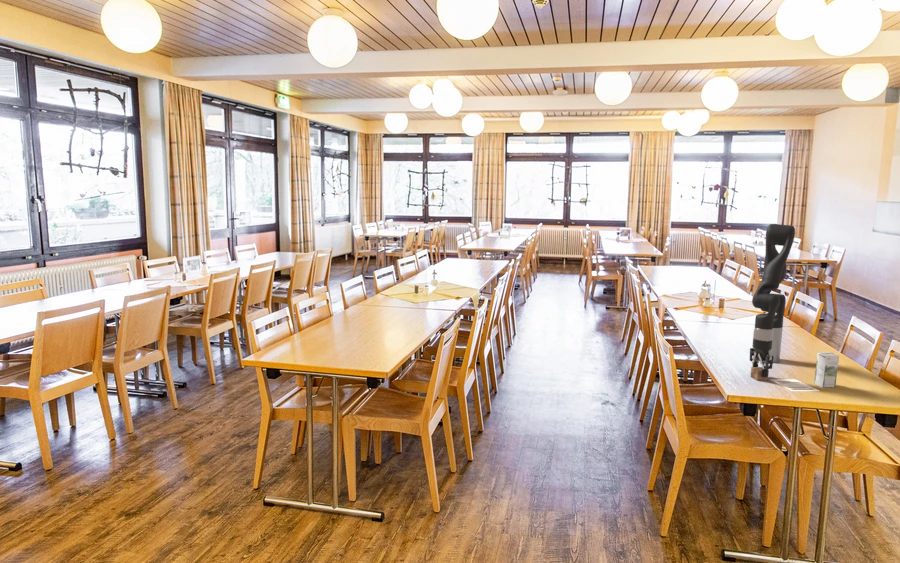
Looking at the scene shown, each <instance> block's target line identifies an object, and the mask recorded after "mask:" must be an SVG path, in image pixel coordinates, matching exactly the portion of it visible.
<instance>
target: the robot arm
mask: <svg viewBox="0 0 900 563" xmlns="http://www.w3.org/2000/svg"><path fill="white" fill-rule="evenodd" d="M765 231H766V232H765V255H764V264H763V271H762V272H763V273H762V277H761V282H760V284H759V286H758V287H757V290H756V291H755V293H753V294H754V295H753V296H752V299H751V300H752V301H751V303H752V305H753V307H754V308H756V309H760V311H762V312H765V313H758V314H756V315H755V319H754V320H755V321H754V329H753V334H752V335H753V336H752V338H753V339H752V347H750V348H749V362H751V364H752V366H751V367H759V363H760V365H761V367H762V368H763V369H762V377H767V376H768V377H769V375H768V370H771V369H773V365H774V364H773V363H779V362H780V359H781V351H782V350H781V349H782V339H783V338H782V337H783V327H784V315H785V309H786V296H785V295H784V294H782V293H771V292H772V291H774V290H778V289H779V287H780V284H781V283H782V282H783V281H784V280H785V278H786V274H787V260H788V257H789V254H790V253H791V252H790V251H791V250H792V247H793V245H794V244H793V243H794V240H795V238H796V237H795V236H796V228H795V227H794V226H793V225H788V224H781V223H780V224H778V223H771V224H769V225H767V228H766V230H765ZM776 246H782V248H781V250H780V252H779V251H778V249H777V247H776Z"/></svg>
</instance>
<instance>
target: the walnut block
mask: <svg viewBox="0 0 900 563" xmlns="http://www.w3.org/2000/svg"><path fill="white" fill-rule="evenodd" d="M762 369H763V368H762V366H758V367H752V366H751V369H750V379H751V378H752V379H753V380H754V381H757V382H759V381H760V382H761V381H762V382H763V381H769V375H770V374H769V373H770V372H769V371H770V369H768V376H767V377H762Z"/></svg>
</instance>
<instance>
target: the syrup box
mask: <svg viewBox="0 0 900 563" xmlns="http://www.w3.org/2000/svg"><path fill="white" fill-rule="evenodd" d="M839 360H840V355H838V354H837V353H834V352H831V351H817V354H816V364H815V371H814V372H815V373H814V380H813V384H815V385H816V386H818V387H820V388H822V389H823V388H824V389H825V388H826V389H828V388H830V387H832V388H833V389H834V388H836V385H837V384H836V383H837V376H838V369H839V368H838V367H839ZM830 389H831V388H830Z"/></svg>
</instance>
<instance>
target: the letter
mask: <svg viewBox="0 0 900 563" xmlns="http://www.w3.org/2000/svg"><path fill="white" fill-rule="evenodd" d="M769 380H770V381H772V382H773V383H775V384H777V385H779V386H781V387H783V388H785V389H786V390H789V391H791V392H793V393H795V392H820V390H819V389H817V388H814V387H813V386H811V385H809V384H807V383H804V382H803V381H800V380H798V379H796V378H785V379H784V378H783V379H782V378H779V379H778V378H776V379H773V378H772V379H769V378H768V381H769Z"/></svg>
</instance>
